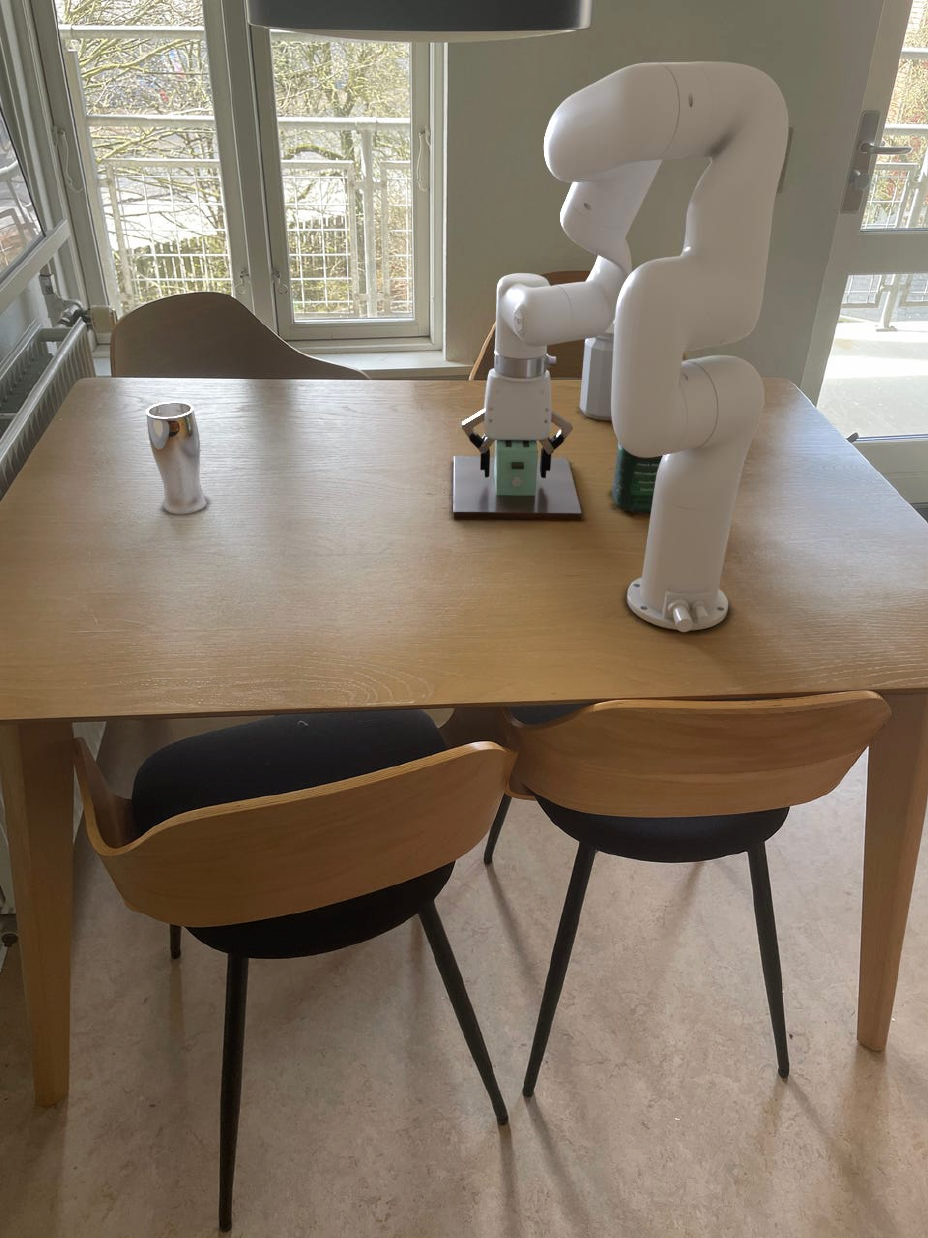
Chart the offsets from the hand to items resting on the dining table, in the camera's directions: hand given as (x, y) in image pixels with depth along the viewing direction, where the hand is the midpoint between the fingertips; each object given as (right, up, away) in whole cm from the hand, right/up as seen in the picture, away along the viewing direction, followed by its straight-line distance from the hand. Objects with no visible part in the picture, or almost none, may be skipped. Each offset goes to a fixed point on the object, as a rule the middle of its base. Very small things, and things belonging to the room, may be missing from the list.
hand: (514, 473), depth 145 cm
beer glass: (-50, -6, -5) cm, 51 cm away
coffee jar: (+19, -5, -1) cm, 20 cm away
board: (0, -2, +2) cm, 3 cm away
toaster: (0, -2, 0) cm, 2 cm away
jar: (+19, +16, +31) cm, 40 cm away
